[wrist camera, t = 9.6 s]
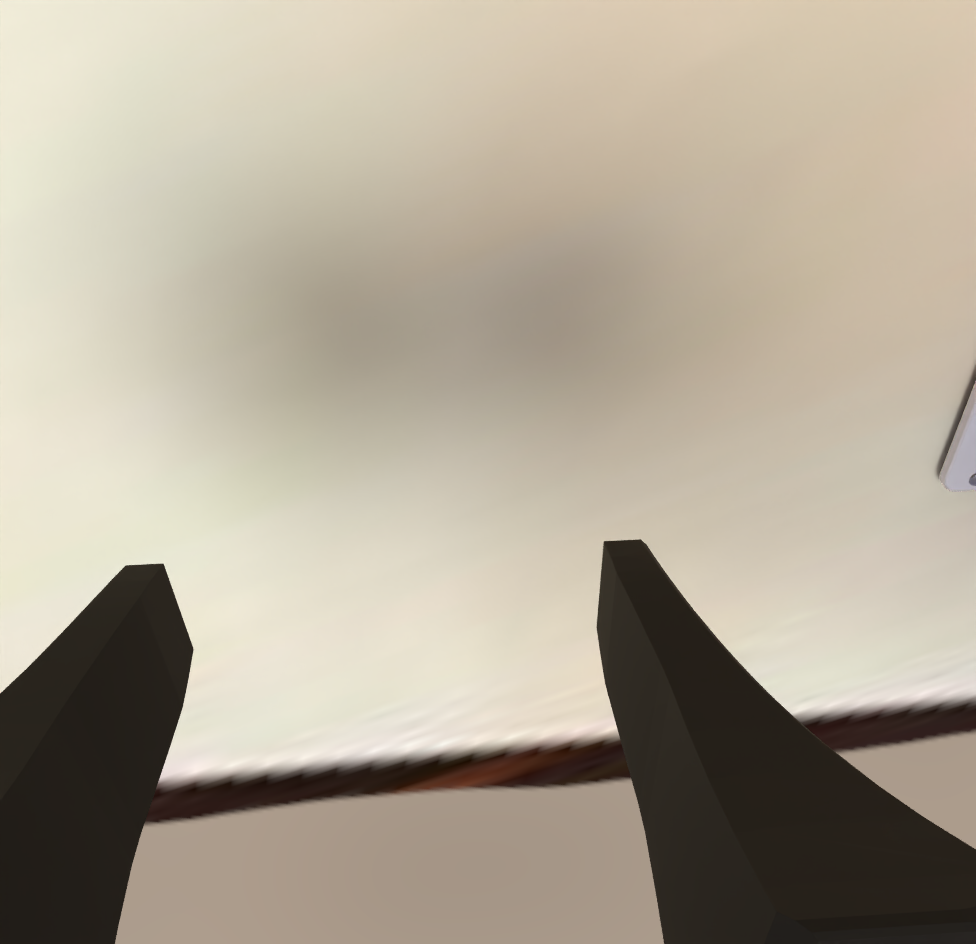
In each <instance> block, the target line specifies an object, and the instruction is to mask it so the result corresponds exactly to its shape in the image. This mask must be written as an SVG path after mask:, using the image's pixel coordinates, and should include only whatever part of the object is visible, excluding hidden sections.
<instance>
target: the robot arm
mask: <svg viewBox="0 0 976 944" xmlns="http://www.w3.org/2000/svg"><path fill="white" fill-rule="evenodd" d="M975 473H976V381H975V384H974V387H973V389H972V392H971V394H970V397H969V399H968V402H967V405H966V407H965V410H964V412H963V415H962V418H961V420H960V423H959V425H958V428H957V431H956V433H955V436H954V438H953V441H952V444H951V446H950V449H949V451H948V454H947V456H946V459H945V462H944V464H943V467H942V469H941V472H940V476H939V479H940V481H941V483H942V484H943V485H944V487H945V488H946V489H948V490H949V491H976V475H975V476H973V477H971V476H972V475H973V474H975ZM597 633H598V640H599V647H600V654H601V660H602V666H603V673H604V679H605V684H606V688H607V692H608V696H609V699H610V703H611V707H612V710H613V714H614V718H615V721H616V725H617V729H618V732H619V736H620V739H621V743H622V747H623V750H624V754H625V757H626V761H627V765H628V768H629V772H630V775H631V779H632V783H633V786H634V789H635V793H636V797H637V800H638V804H639V808H640V812H641V816H642V821H643V825H644V829H645V834H646V840H647V845H648V851H649V857H650V862H651V867H652V873H653V879H654V885H655V890H656V896H657V902H658V908H659V914H660V921H661V927H662V933H663V939H664V944H976V849H974V848H972V847H971V846H969V845H968V844H966V843H964V842H963V841H961V840H960V839H958V838H956V837H955V836H953V835H951V834H950V833H948V832H947V831H945V830H943V829H942V828H940V827H939V826H937V825H935V824H934V823H932V822H931V821H929V820H927V819H926V818H924V817H923V816H921V815H920V814H918V813H917V812H915V811H914V810H912V809H911V808H910V807H908V806H907V805H905V804H904V803H902V802H901V801H899V800H898V799H896V798H895V797H894V796H892V795H891V794H889V793H888V792H886V791H885V790H884V789H882V788H881V787H879V786H878V785H877V784H875V783H874V782H873V781H872V780H870V779H869V778H868V777H866V776H865V775H864V774H862V773H861V772H860V771H859V770H857V769H856V768H855V767H853V766H852V765H851V764H850V763H848V762H847V761H846V760H845V759H843V758H842V757H841V756H839V755H838V754H837V753H836V752H834V751H833V750H832V749H831V748H829V747H828V746H827V745H825V744H824V743H823V742H822V741H821V740H820V739H818V738H817V737H816V736H815V735H814V734H813V733H812V732H810V731H809V730H808V729H807V728H806V727H805V726H804V725H802V724H801V723H800V722H799V721H798V720H797V719H796V718H794V717H793V716H792V715H791V714H790V713H789V712H788V711H787V710H786V709H785V708H784V707H783V706H782V705H781V704H779V703H778V702H777V701H776V700H775V699H774V698H773V697H772V696H771V695H770V694H769V693H768V692H767V691H766V690H765V689H764V688H763V687H762V686H761V685H760V684H759V683H758V682H757V681H756V680H755V679H754V678H753V677H752V676H751V675H750V674H749V673H748V672H747V671H746V669H745V668H744V667H743V666H742V665H741V664H740V663H739V662H738V661H737V660H736V659H735V658H734V657H733V655H732V654H731V653H730V652H729V651H728V650H727V649H726V648H725V646H724V645H723V644H722V643H721V642H720V641H719V640H718V639H717V637H716V636H715V635H714V634H713V633H712V631H711V630H710V629H709V628H708V626H707V625H706V624H705V623H704V622H703V620H702V619H701V618H700V617H699V616H698V614H697V613H696V612H695V611H694V610H693V608H692V607H691V606H690V604H689V603H688V602H687V601H686V599H685V598H684V597H683V595H682V594H681V593H680V591H679V590H678V589H677V587H676V586H675V585H674V583H673V582H672V581H671V579H670V578H669V577H668V575H667V574H666V573H665V571H664V570H663V568H662V567H661V565H660V564H659V563H658V561H657V560H656V558H655V557H654V555H653V554H652V552H651V551H650V549H649V548H648V546H647V545H646V544H645V543H644V542H643V541H642V540H623V541H604V546H603V558H602V570H601V582H600V594H599V605H598V617H597ZM192 655H193V646H192V643H191V641H190V638H189V635H188V632H187V629H186V626H185V624H184V621H183V618H182V615H181V612H180V609H179V606H178V604H177V601H176V598H175V595H174V592H173V589H172V587H171V584H170V581H169V578H168V575H167V572H166V569H165V567H164V564H146V565H127V566H125V567H124V568H123V569H122V570H121V571H120V572H119V573H118V574H117V575H116V576H115V577H114V578H113V579H112V580H111V581H110V582H109V583H108V584H107V586H106V587H105V588H104V589H103V590H102V591H101V592H100V593H99V594H98V595H97V596H96V597H95V598H94V599H93V600H92V601H91V602H90V604H89V605H88V606H87V607H86V608H85V609H84V610H83V611H82V612H81V613H80V614H79V615H78V616H77V617H76V618H75V619H74V621H73V622H72V623H71V624H70V625H69V626H68V627H67V628H66V629H65V630H64V631H63V632H62V633H61V634H60V635H59V636H58V637H57V638H56V639H55V640H54V641H53V642H52V643H51V644H50V645H49V647H48V648H47V649H46V650H45V651H44V652H43V653H42V654H41V655H40V656H39V657H38V658H37V659H36V660H35V661H34V662H33V663H32V664H31V665H30V666H29V667H28V668H27V669H26V670H25V671H24V672H23V673H22V674H20V675H19V676H18V677H17V678H16V679H15V680H14V681H13V682H12V683H11V684H10V685H9V686H8V687H7V688H6V689H5V690H4V691H3V692H1V693H0V944H115V940H116V935H117V930H118V924H119V920H120V916H121V911H122V907H123V902H124V898H125V893H126V889H127V884H128V880H129V876H130V871H131V867H132V863H133V859H134V856H135V852H136V849H137V845H138V842H139V838H140V835H141V832H142V829H143V826H144V823H145V820H146V817H147V814H148V811H149V808H150V805H151V802H152V799H153V796H154V793H155V790H156V787H157V784H158V781H159V778H160V775H161V772H162V769H163V766H164V763H165V760H166V757H167V754H168V751H169V748H170V745H171V742H172V739H173V736H174V733H175V730H176V727H177V723H178V720H179V717H180V714H181V711H182V707H183V703H184V698H185V693H186V688H187V683H188V678H189V672H190V666H191V661H192Z"/></svg>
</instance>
